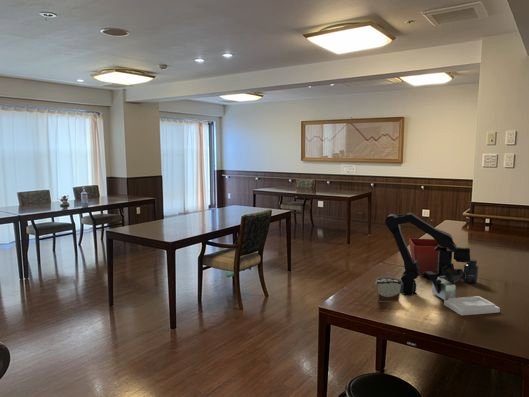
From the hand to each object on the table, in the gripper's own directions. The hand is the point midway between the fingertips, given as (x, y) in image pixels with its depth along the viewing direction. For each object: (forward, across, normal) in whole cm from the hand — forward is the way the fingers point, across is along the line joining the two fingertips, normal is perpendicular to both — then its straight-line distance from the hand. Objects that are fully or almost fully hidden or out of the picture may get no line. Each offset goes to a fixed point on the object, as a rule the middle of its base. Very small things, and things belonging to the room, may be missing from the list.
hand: (443, 292), depth 186 cm
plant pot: (+2, +16, +38) cm, 41 cm away
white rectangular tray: (+2, +4, -14) cm, 15 cm away
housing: (+2, 0, 0) cm, 2 cm away
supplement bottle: (+2, +27, +17) cm, 32 cm away
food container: (+2, -27, +3) cm, 27 cm away
